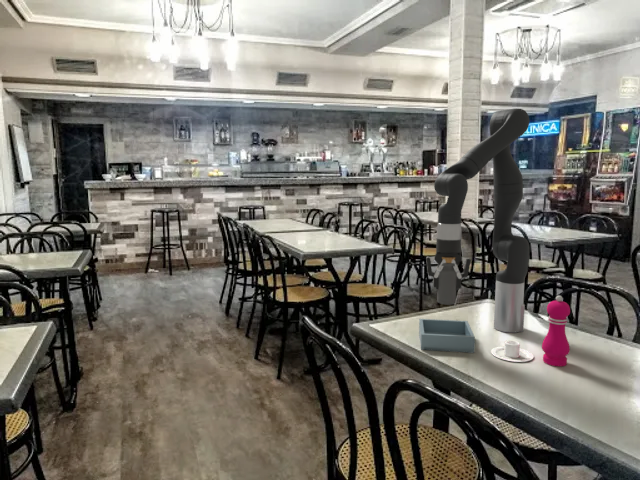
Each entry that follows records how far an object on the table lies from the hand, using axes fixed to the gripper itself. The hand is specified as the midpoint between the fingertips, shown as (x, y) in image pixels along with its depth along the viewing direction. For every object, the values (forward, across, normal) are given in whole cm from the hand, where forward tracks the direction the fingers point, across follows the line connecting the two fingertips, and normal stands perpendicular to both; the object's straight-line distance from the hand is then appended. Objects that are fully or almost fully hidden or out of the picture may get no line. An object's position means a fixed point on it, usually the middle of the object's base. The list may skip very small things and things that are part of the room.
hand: (446, 289), depth 153 cm
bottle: (+5, 0, 0) cm, 5 cm away
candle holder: (+18, +19, -8) cm, 28 cm away
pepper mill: (+18, +30, -12) cm, 37 cm away
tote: (+18, 0, 0) cm, 18 cm away
